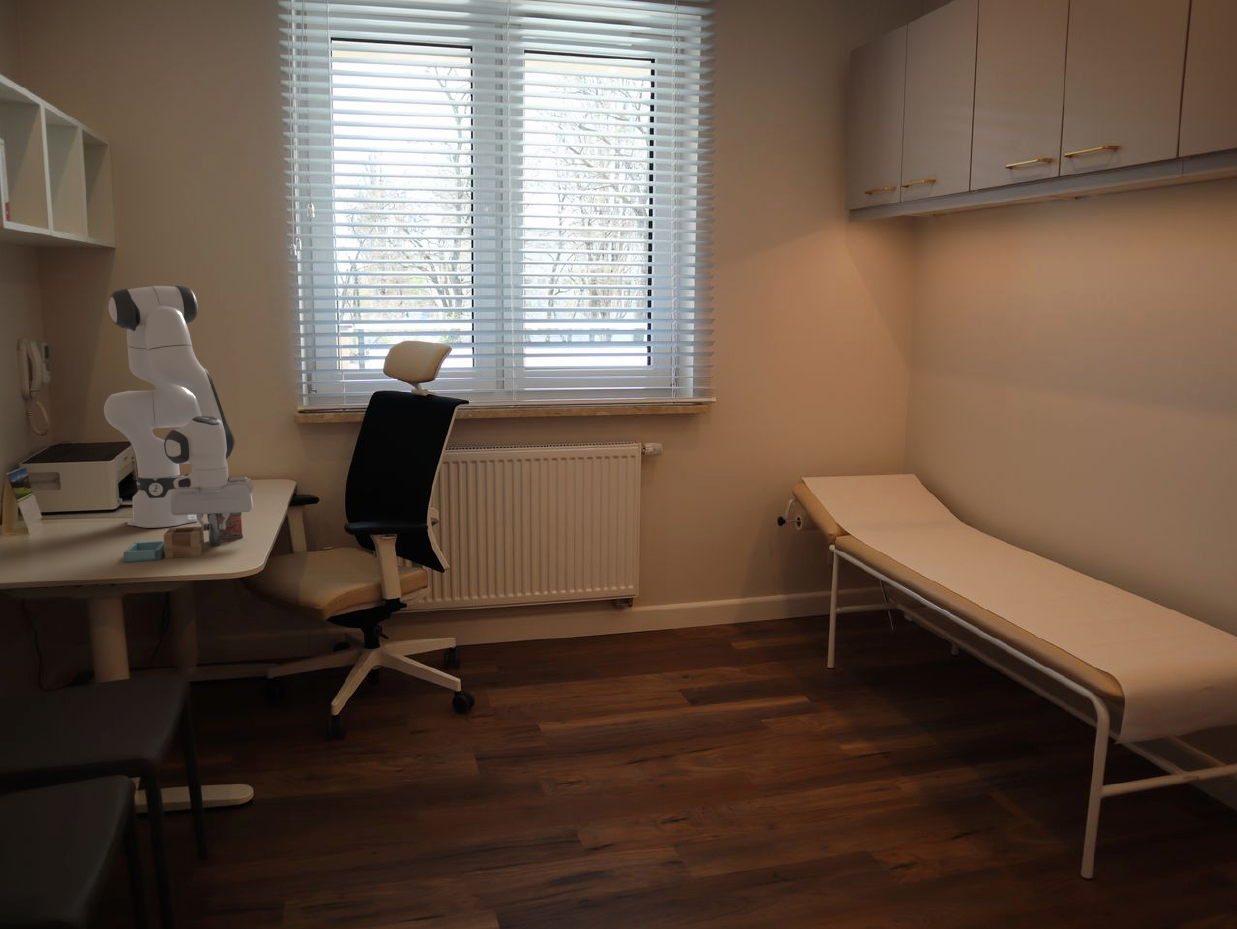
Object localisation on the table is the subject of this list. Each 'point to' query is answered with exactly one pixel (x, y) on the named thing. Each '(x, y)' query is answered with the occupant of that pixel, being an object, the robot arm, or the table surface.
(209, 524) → the post
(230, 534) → the lighter
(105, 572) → the table surface
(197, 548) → the bored block
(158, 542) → the tray
